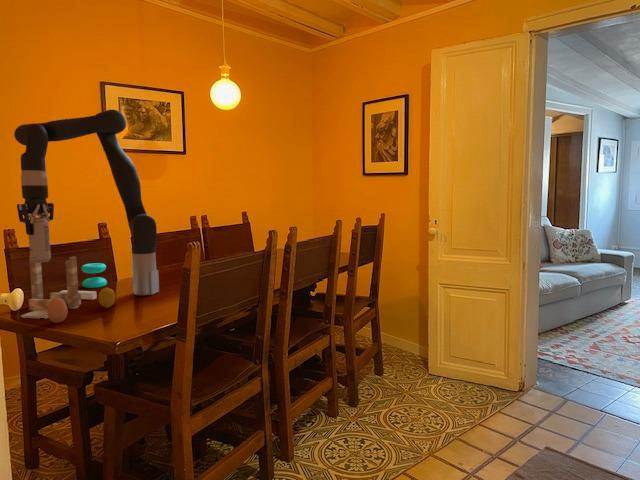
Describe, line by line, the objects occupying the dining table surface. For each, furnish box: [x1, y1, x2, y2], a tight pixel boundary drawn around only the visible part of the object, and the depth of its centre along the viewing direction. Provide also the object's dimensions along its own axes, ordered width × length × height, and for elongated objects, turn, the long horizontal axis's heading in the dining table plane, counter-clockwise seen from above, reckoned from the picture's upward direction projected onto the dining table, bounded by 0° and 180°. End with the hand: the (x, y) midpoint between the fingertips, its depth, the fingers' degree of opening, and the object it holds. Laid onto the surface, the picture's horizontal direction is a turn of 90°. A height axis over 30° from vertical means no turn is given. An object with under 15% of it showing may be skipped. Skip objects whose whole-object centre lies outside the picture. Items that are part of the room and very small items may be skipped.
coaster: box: [20, 309, 49, 320], centre depth 157 cm, size 9×9×1 cm
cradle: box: [28, 255, 82, 312], centre depth 166 cm, size 17×12×19 cm
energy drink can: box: [28, 217, 52, 264], centre depth 154 cm, size 6×6×15 cm
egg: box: [47, 298, 69, 324], centre depth 147 cm, size 6×6×8 cm
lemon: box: [98, 286, 116, 309], centre depth 165 cm, size 6×6×8 cm
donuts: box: [81, 262, 108, 289], centre depth 203 cm, size 10×10×10 cm
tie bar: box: [59, 289, 98, 300], centre depth 181 cm, size 14×2×3 cm, turn 81°
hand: (38, 233), depth 154 cm, fingers closed on energy drink can, 6 cm apart
